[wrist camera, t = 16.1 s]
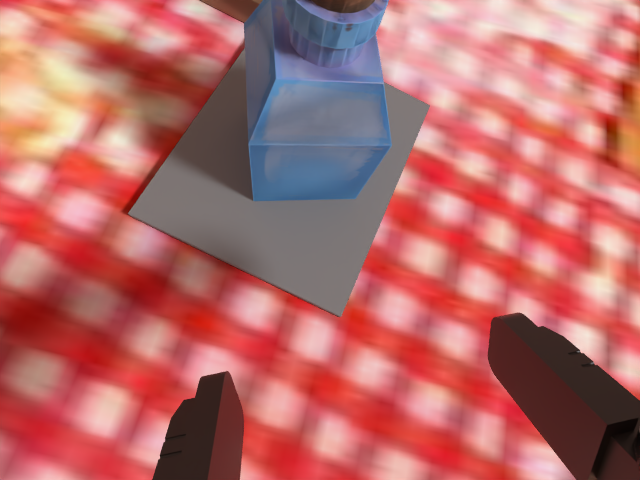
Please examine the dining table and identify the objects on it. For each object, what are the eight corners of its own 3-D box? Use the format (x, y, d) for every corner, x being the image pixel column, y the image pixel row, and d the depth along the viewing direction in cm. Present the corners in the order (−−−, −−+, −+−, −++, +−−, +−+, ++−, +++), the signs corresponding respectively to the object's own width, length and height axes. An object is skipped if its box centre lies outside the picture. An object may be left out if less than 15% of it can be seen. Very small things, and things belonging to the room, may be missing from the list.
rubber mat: (263, 28, 24) (263, 21, 23) (426, 110, 24) (430, 105, 23) (131, 217, 19) (127, 213, 18) (338, 317, 19) (340, 316, 18)
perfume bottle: (250, 109, 21) (232, -155, 10) (345, 112, 22) (430, -123, 11) (253, 201, 19) (236, 15, 8) (355, 199, 21) (468, 32, 9)
